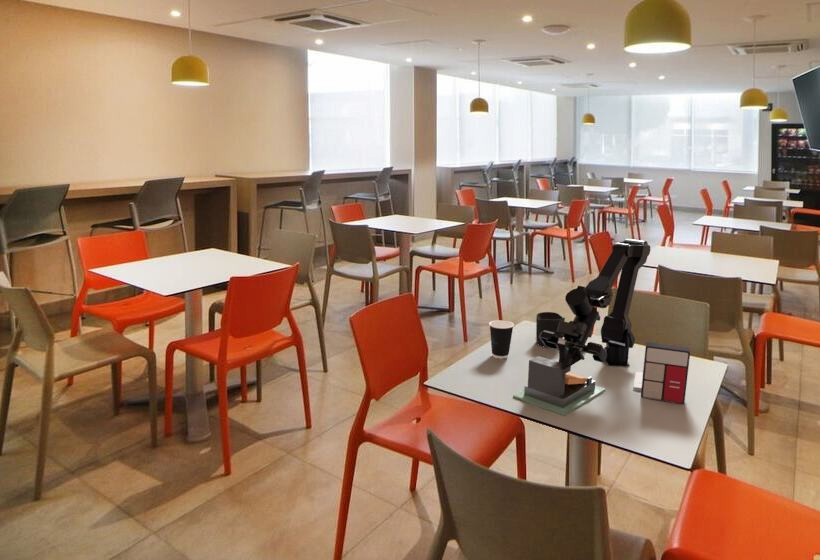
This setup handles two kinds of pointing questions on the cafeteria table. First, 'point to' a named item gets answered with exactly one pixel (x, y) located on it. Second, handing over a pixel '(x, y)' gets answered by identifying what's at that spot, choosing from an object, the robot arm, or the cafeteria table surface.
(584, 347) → the robot arm
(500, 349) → the dixie cup
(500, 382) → the cafeteria table surface
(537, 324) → the pen holder
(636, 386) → the external hard drive
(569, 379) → the orange upright panel
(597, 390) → the green flat slab
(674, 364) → the panelled box
